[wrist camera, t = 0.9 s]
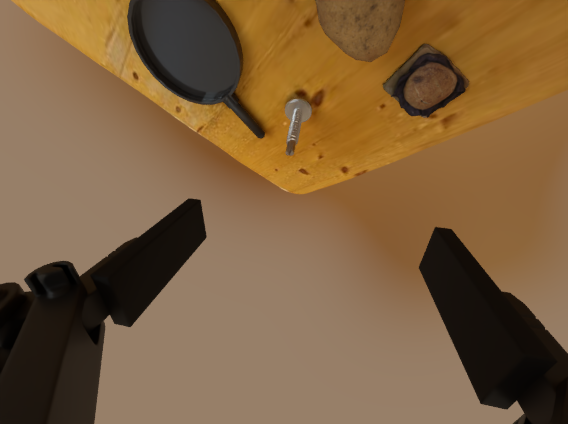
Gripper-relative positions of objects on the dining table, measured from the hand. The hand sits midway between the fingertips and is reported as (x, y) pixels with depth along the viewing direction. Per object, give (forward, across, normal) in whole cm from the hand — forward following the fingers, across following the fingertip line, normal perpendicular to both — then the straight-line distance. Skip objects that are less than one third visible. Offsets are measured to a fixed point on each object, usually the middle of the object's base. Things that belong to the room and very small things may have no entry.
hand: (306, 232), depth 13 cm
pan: (+31, -23, +12) cm, 40 cm away
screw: (+36, -6, +4) cm, 36 cm away
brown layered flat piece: (+34, +14, +8) cm, 38 cm away
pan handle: (+36, -16, +2) cm, 39 cm away
